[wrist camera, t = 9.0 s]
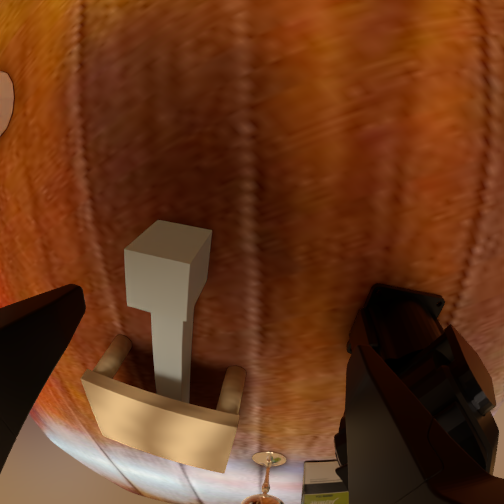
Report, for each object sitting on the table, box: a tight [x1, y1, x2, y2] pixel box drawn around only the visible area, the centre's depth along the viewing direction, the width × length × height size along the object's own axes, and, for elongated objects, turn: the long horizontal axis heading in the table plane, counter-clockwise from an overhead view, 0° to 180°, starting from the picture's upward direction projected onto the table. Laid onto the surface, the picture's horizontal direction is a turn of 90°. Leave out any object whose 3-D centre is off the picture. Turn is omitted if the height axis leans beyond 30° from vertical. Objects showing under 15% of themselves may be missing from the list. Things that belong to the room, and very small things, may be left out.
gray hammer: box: [124, 220, 212, 403], centre depth 23 cm, size 4×20×5 cm, turn 170°
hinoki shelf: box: [81, 335, 246, 473], centre depth 25 cm, size 13×10×6 cm
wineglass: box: [241, 452, 287, 504], centre depth 28 cm, size 6×6×12 cm
